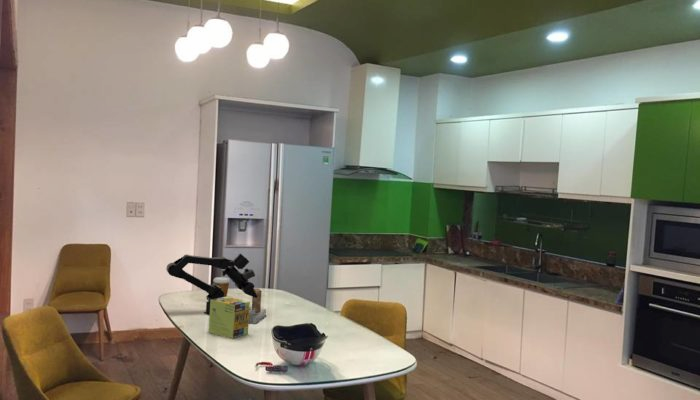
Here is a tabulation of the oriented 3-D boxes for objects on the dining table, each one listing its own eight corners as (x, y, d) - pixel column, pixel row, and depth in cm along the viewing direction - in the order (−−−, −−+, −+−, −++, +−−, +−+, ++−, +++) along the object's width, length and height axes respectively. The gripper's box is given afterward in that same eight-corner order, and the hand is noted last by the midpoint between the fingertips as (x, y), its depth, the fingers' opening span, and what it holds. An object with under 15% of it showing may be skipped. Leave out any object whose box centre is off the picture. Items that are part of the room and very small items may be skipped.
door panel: (254, 313, 309) (256, 290, 309) (251, 310, 315) (252, 288, 314) (260, 312, 311) (261, 290, 310) (257, 310, 316) (258, 288, 316)
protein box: (233, 339, 260) (235, 304, 259) (208, 332, 268) (209, 299, 267) (248, 334, 269) (250, 301, 268) (224, 328, 277) (225, 296, 276)
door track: (241, 322, 288) (241, 315, 288) (252, 314, 306) (252, 307, 306) (255, 324, 287) (256, 317, 287) (266, 316, 305) (266, 309, 305)
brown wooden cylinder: (226, 301, 333) (228, 280, 333) (210, 300, 333) (211, 279, 333) (230, 297, 342) (231, 277, 342) (214, 296, 343) (215, 276, 342)
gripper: (251, 267, 300) (270, 288, 306) (241, 262, 317) (260, 281, 322) (235, 283, 297) (255, 303, 303) (226, 276, 314) (245, 296, 319)
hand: (254, 295), depth 312 cm, fingers open, 9 cm apart
